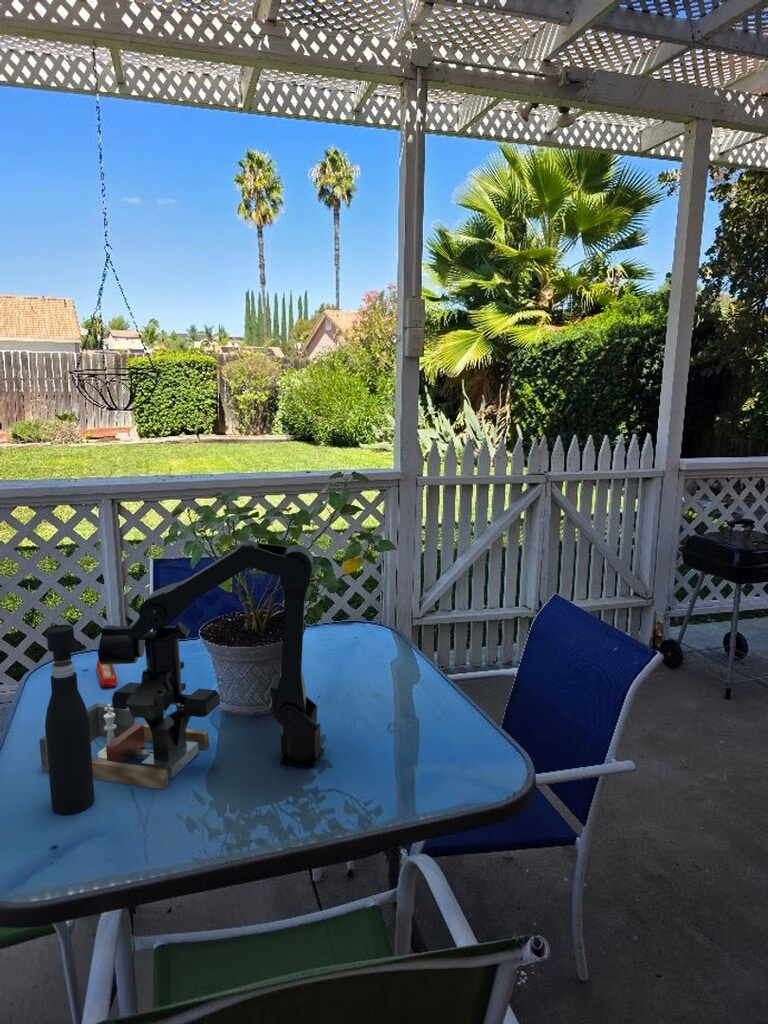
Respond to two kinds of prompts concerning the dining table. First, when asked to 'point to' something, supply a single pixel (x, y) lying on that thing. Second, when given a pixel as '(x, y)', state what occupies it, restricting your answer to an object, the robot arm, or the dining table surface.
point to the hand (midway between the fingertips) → (168, 743)
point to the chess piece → (110, 735)
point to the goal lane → (121, 770)
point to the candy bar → (106, 675)
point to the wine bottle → (67, 731)
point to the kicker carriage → (163, 747)
